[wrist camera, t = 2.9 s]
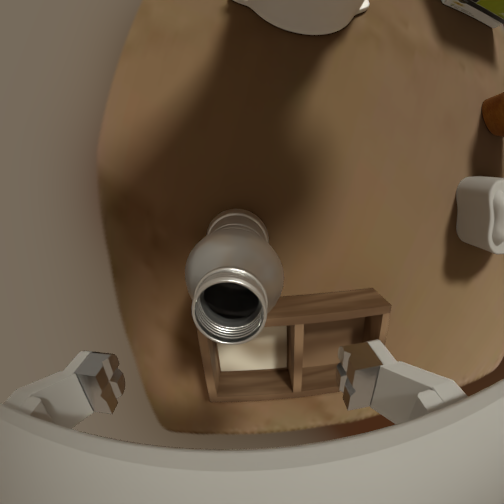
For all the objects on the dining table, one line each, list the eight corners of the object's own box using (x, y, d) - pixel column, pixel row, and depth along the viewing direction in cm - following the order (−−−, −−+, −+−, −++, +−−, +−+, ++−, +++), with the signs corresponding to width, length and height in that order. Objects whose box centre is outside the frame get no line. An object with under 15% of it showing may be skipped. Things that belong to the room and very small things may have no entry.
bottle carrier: (202, 301, 35) (195, 322, 29) (372, 287, 35) (391, 305, 29) (213, 376, 38) (210, 402, 32) (362, 361, 38) (376, 384, 32)
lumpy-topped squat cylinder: (455, 175, 31) (496, 178, 23) (502, 177, 31) (539, 181, 23) (455, 246, 34) (493, 262, 25) (502, 237, 34) (536, 250, 25)
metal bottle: (227, 195, 32) (199, 219, 12) (278, 226, 33) (324, 294, 13) (199, 242, 33) (141, 327, 13) (248, 272, 34) (252, 385, 15)
